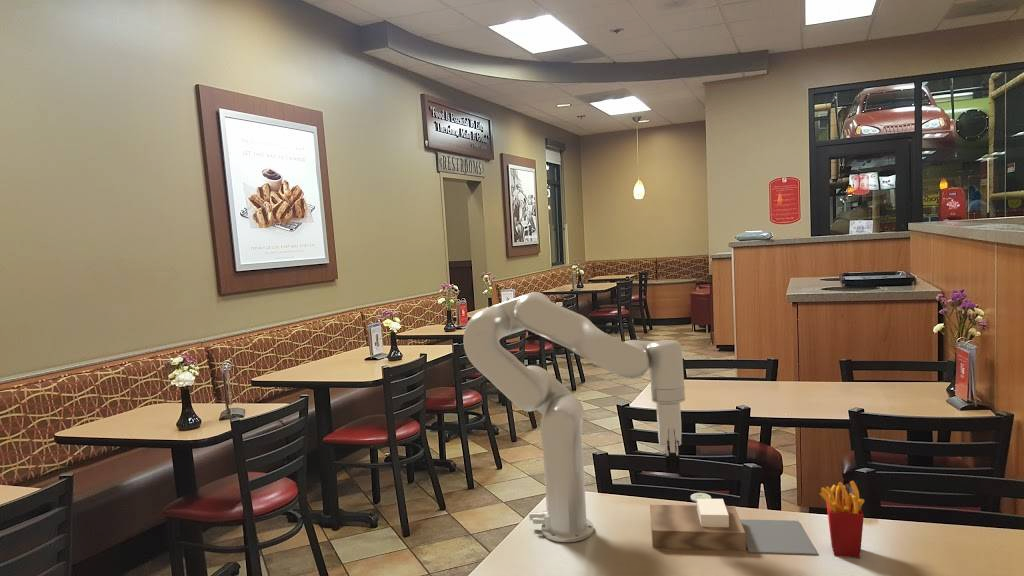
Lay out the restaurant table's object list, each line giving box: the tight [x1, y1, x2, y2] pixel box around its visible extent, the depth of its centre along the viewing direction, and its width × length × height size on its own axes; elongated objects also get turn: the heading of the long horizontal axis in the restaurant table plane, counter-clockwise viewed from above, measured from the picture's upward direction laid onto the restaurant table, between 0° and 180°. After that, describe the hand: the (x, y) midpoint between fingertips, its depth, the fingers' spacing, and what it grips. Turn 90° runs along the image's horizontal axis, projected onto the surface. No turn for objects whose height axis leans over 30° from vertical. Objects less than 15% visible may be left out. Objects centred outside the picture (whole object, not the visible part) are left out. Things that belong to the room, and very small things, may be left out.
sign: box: [690, 492, 712, 503], centre depth 162 cm, size 5×1×15 cm
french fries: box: [819, 480, 865, 559], centre depth 136 cm, size 9×8×15 cm
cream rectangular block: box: [696, 498, 729, 527], centre depth 146 cm, size 6×9×3 cm, turn 169°
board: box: [649, 504, 747, 551], centre depth 147 cm, size 20×14×4 cm
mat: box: [740, 518, 819, 556], centre depth 144 cm, size 14×16×1 cm
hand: (673, 470), depth 147 cm, fingers closed
